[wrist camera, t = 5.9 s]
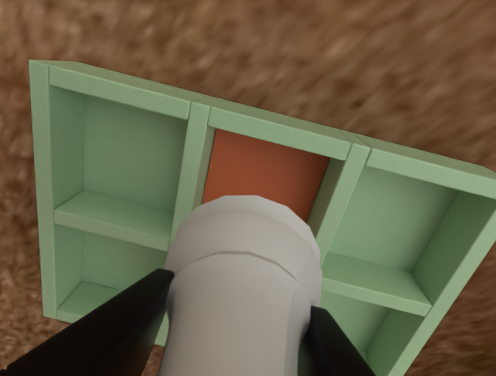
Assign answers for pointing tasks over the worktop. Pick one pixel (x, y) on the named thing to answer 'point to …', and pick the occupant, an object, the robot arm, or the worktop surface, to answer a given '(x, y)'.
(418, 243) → the grid
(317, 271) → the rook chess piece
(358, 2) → the worktop surface
